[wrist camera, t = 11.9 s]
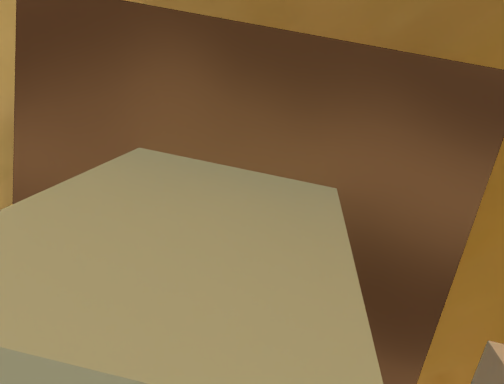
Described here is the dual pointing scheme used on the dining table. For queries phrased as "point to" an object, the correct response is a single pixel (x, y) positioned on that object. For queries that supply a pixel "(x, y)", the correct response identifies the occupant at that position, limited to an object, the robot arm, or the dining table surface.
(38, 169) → the walnut board
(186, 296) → the sage block
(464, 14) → the dining table surface
